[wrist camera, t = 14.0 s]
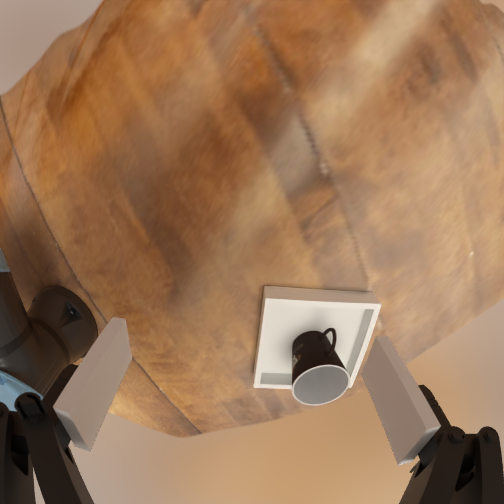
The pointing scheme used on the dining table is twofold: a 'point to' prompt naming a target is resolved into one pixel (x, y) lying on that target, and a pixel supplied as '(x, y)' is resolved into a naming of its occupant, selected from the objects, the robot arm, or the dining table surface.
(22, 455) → the robot arm
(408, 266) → the dining table surface
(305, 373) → the coffee mug
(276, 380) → the white tray
